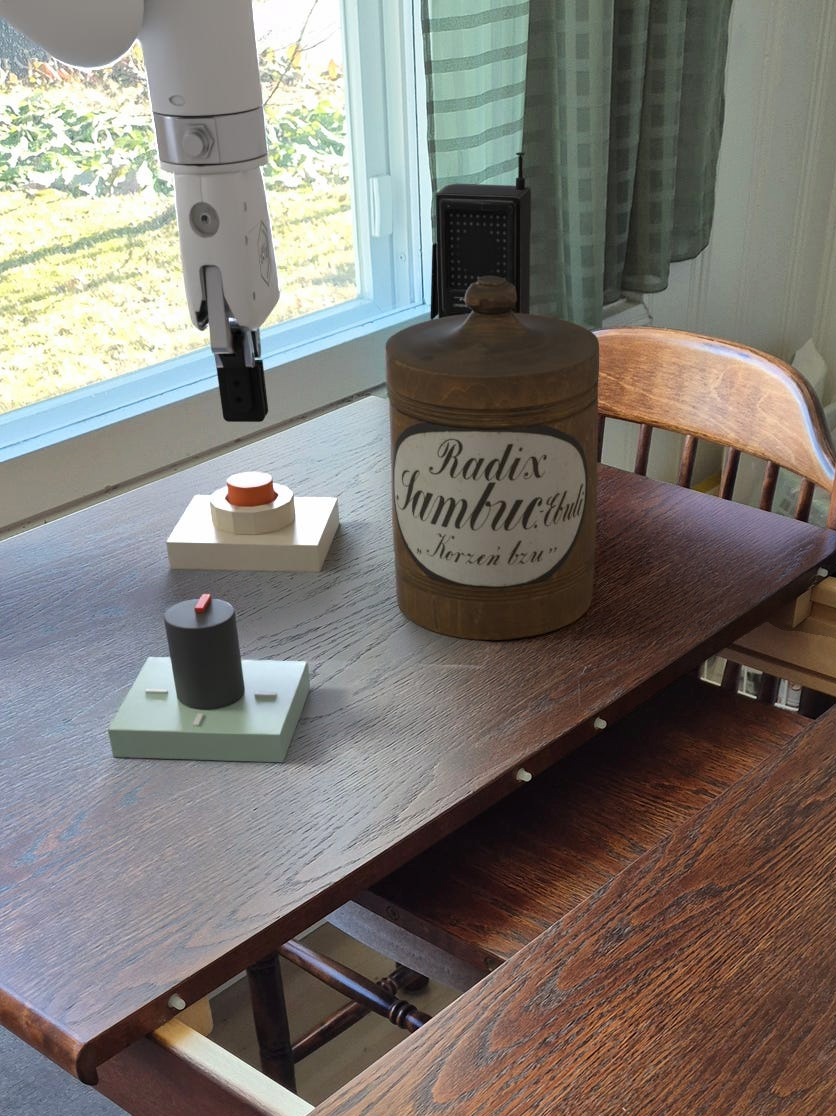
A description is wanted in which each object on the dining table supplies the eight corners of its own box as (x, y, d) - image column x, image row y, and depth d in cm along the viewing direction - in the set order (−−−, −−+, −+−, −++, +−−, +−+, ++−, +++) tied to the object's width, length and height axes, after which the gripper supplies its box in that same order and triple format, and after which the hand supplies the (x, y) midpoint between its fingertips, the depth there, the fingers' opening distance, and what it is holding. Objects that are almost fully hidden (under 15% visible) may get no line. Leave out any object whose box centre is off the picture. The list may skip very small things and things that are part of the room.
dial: (236, 710, 91) (225, 624, 87) (169, 708, 91) (154, 622, 88) (251, 678, 94) (240, 594, 91) (186, 676, 95) (173, 592, 91)
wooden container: (386, 641, 103) (367, 308, 88) (406, 557, 114) (392, 250, 100) (592, 644, 102) (607, 309, 88) (593, 560, 113) (606, 250, 99)
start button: (225, 509, 113) (222, 487, 111) (234, 492, 115) (231, 470, 114) (270, 510, 112) (267, 488, 111) (278, 493, 115) (276, 471, 114)
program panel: (112, 757, 91) (106, 727, 89) (152, 683, 98) (147, 654, 97) (283, 763, 90) (280, 732, 89) (310, 688, 98) (307, 658, 96)
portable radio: (428, 491, 125) (416, 160, 108) (446, 467, 129) (437, 145, 113) (516, 498, 123) (518, 163, 107) (531, 473, 128) (534, 148, 111)
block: (169, 569, 113) (161, 519, 110) (198, 520, 120) (191, 472, 118) (320, 572, 112) (315, 522, 109) (339, 523, 120) (336, 475, 117)
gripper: (243, 160, 92) (276, 453, 104) (285, 119, 103) (311, 387, 115) (128, 162, 92) (175, 452, 104) (183, 120, 103) (219, 387, 116)
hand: (246, 417), depth 110 cm, fingers closed
